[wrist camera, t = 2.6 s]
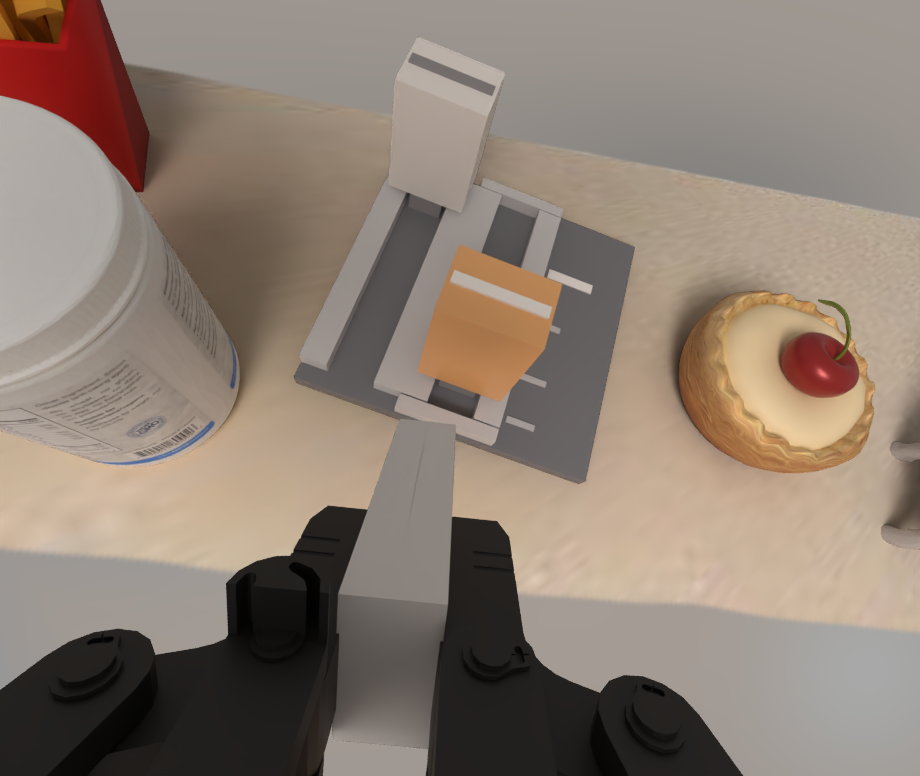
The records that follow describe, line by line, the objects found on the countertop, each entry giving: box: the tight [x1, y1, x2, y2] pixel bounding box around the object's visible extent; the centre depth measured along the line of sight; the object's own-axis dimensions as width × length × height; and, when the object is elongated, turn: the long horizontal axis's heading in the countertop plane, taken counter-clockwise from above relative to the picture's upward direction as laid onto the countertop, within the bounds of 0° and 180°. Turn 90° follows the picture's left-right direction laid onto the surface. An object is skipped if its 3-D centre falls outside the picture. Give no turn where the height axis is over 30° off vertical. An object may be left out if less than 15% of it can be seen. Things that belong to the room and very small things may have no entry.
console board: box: [294, 37, 635, 484], centre depth 28 cm, size 18×18×10 cm
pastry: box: [679, 291, 875, 473], centre depth 30 cm, size 12×12×9 cm
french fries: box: [0, 0, 149, 192], centre depth 24 cm, size 9×8×15 cm
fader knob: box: [417, 245, 562, 402], centre depth 25 cm, size 5×4×9 cm
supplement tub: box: [0, 96, 240, 467], centre depth 20 cm, size 10×10×15 cm
